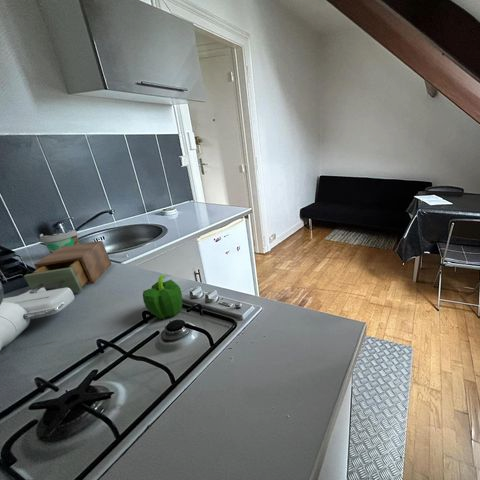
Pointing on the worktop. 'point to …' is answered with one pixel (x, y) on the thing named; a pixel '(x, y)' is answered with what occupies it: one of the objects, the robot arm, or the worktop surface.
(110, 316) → the worktop surface
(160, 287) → the bell pepper
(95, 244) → the cabinet
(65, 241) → the food container
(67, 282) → the drawer
